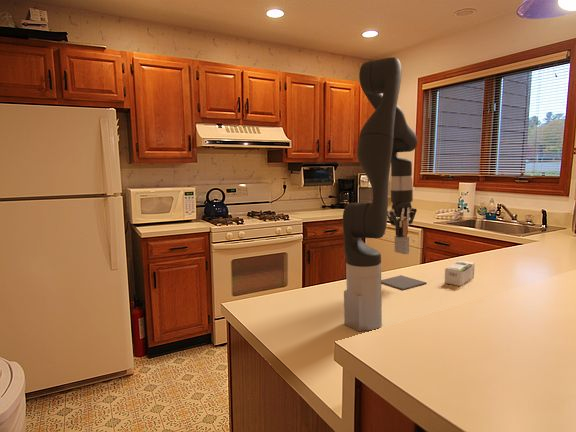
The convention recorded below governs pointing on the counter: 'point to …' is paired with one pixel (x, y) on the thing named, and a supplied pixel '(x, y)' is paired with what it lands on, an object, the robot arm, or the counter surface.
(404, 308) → the counter surface
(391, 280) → the mat
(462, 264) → the syrup box
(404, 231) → the brown piece
